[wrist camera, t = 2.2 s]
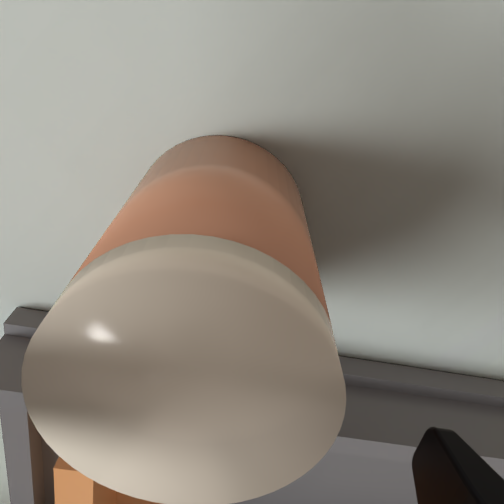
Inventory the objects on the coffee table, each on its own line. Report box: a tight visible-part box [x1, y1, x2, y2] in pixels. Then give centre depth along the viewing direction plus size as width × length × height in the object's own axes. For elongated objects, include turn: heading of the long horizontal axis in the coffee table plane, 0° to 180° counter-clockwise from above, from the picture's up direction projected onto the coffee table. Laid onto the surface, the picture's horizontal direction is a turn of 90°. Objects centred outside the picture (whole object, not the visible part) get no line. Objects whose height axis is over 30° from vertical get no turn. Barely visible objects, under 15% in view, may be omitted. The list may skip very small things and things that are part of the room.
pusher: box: [53, 457, 162, 504], centre depth 17 cm, size 8×5×4 cm, turn 170°
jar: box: [21, 135, 346, 504], centre depth 11 cm, size 6×6×8 cm
